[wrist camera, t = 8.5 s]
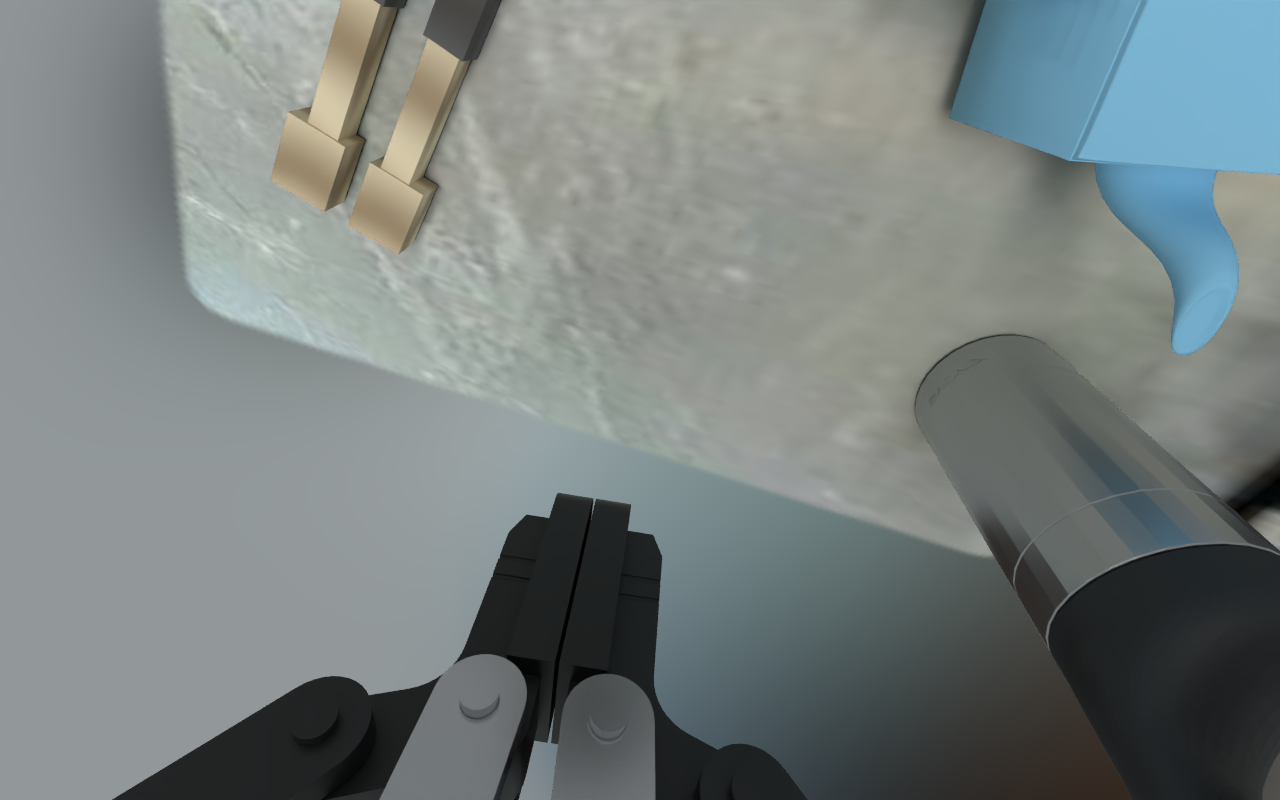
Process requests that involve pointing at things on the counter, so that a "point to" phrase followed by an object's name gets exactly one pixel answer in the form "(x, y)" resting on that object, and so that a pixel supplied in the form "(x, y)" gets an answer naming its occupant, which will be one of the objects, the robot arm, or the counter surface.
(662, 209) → the counter surface
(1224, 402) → the counter surface
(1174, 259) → the teakettle
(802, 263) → the counter surface
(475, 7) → the tong arm
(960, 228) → the counter surface
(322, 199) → the tongs frame
